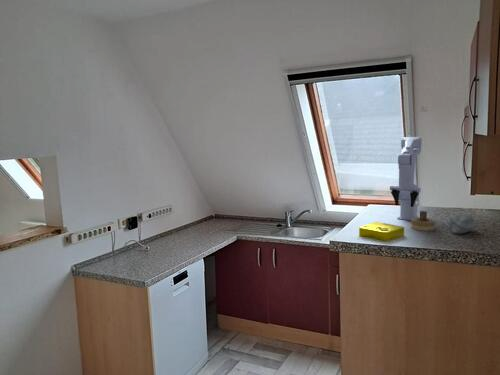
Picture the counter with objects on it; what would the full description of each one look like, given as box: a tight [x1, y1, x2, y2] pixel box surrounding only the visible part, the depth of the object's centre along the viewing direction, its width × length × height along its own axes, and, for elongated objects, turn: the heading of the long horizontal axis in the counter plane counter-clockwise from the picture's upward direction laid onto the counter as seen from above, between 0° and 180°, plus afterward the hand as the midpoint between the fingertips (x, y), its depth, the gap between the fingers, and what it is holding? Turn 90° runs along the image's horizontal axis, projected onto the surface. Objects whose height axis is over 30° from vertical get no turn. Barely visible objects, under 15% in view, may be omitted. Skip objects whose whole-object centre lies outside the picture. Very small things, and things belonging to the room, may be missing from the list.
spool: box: [448, 213, 475, 235], centre depth 186 cm, size 14×10×10 cm
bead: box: [410, 217, 436, 232], centre depth 195 cm, size 10×10×4 cm
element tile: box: [358, 221, 405, 242], centre depth 184 cm, size 15×15×5 cm
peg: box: [419, 210, 428, 221], centre depth 195 cm, size 3×3×8 cm
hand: (404, 205), depth 202 cm, fingers open, 7 cm apart
